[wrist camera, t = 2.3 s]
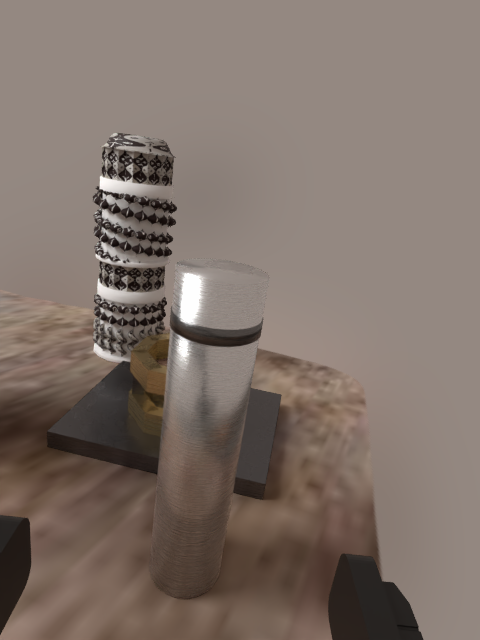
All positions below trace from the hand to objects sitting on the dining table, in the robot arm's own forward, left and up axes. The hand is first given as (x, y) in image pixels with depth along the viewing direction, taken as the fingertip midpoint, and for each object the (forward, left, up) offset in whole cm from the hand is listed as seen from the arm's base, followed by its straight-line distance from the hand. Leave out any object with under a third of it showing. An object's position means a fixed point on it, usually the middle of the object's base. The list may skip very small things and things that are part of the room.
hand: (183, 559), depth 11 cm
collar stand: (-7, +25, -14) cm, 30 cm away
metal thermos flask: (-2, +11, -14) cm, 18 cm away
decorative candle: (-18, +38, -14) cm, 45 cm away
